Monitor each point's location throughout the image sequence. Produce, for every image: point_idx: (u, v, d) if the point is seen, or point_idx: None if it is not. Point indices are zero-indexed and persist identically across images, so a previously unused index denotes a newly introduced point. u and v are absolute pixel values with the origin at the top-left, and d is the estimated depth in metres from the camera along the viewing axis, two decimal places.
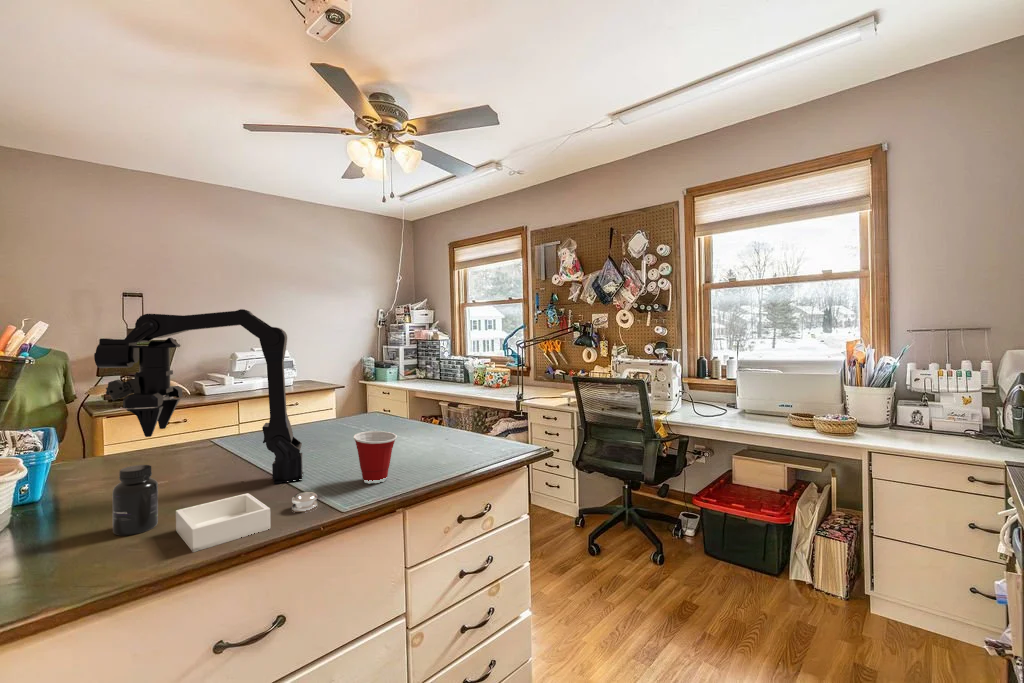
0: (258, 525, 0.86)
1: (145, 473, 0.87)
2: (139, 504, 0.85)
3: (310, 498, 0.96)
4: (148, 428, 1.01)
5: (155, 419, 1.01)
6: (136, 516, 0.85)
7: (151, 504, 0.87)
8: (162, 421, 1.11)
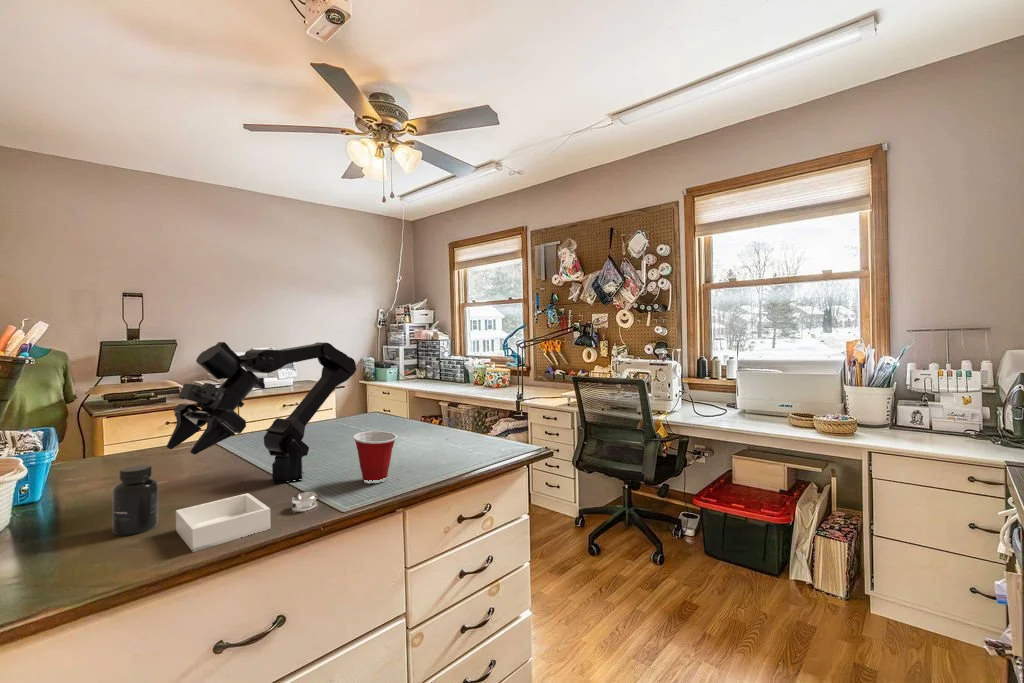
0: (258, 525, 0.86)
1: (145, 473, 0.87)
2: (139, 504, 0.85)
3: (310, 498, 0.96)
4: (202, 446, 0.93)
5: (217, 441, 0.95)
6: (136, 516, 0.85)
7: (151, 504, 0.87)
8: (175, 441, 0.98)
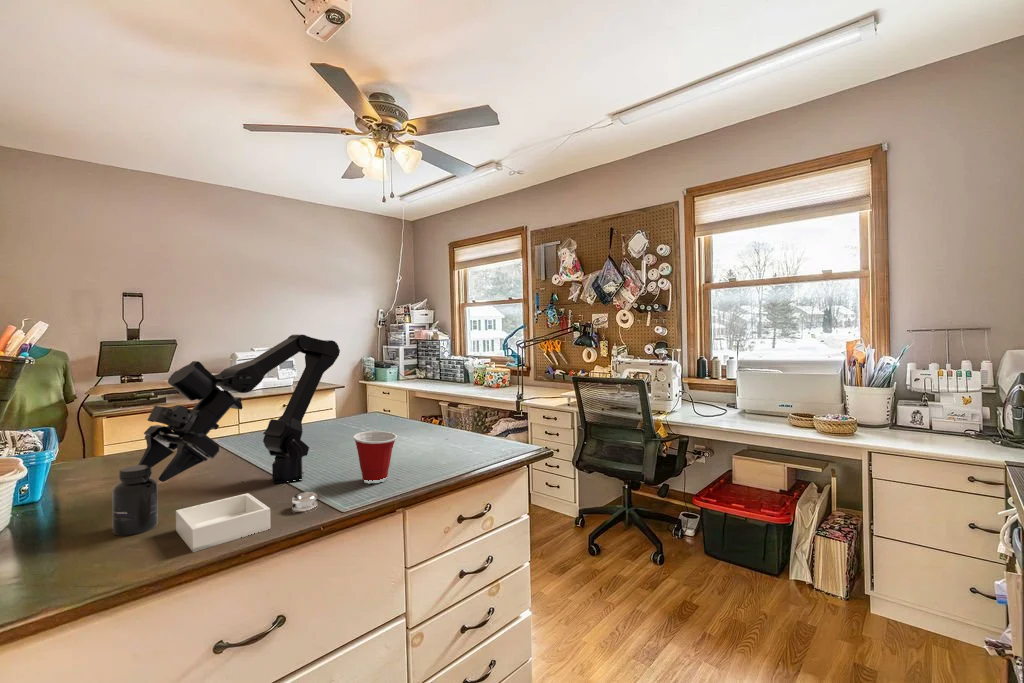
0: (258, 525, 0.86)
1: (145, 473, 0.87)
2: (139, 504, 0.85)
3: (310, 498, 0.96)
4: (172, 472, 0.88)
5: (188, 467, 0.90)
6: (136, 516, 0.85)
7: (151, 504, 0.87)
8: None
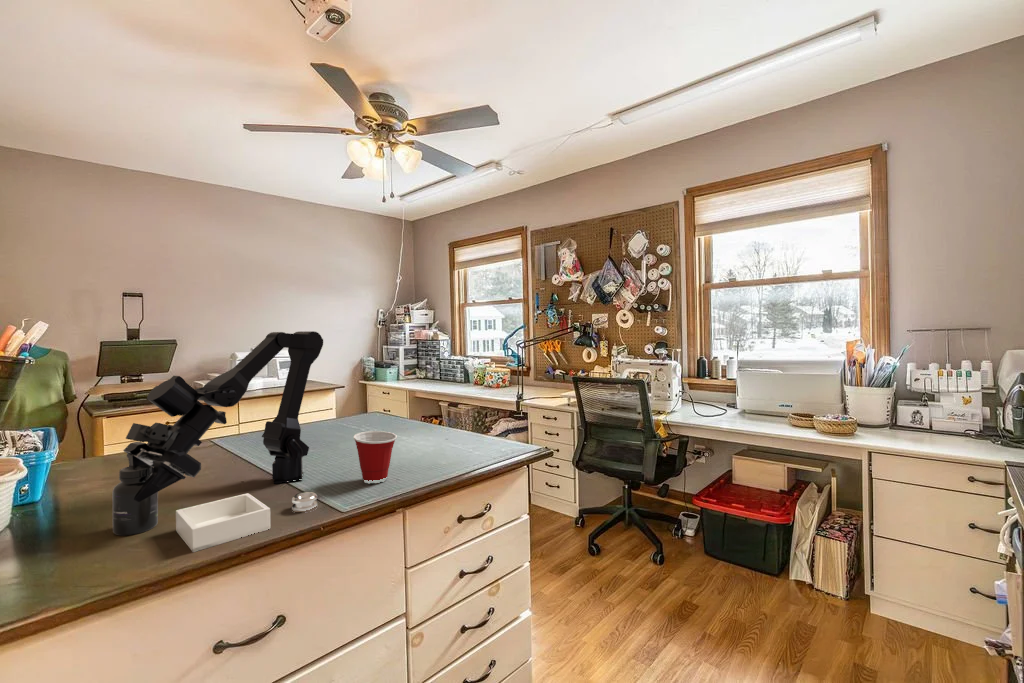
0: (258, 525, 0.86)
1: (145, 473, 0.87)
2: (139, 504, 0.85)
3: (310, 498, 0.96)
4: (148, 492, 0.86)
5: (165, 486, 0.88)
6: (136, 516, 0.85)
7: (151, 504, 0.87)
8: None
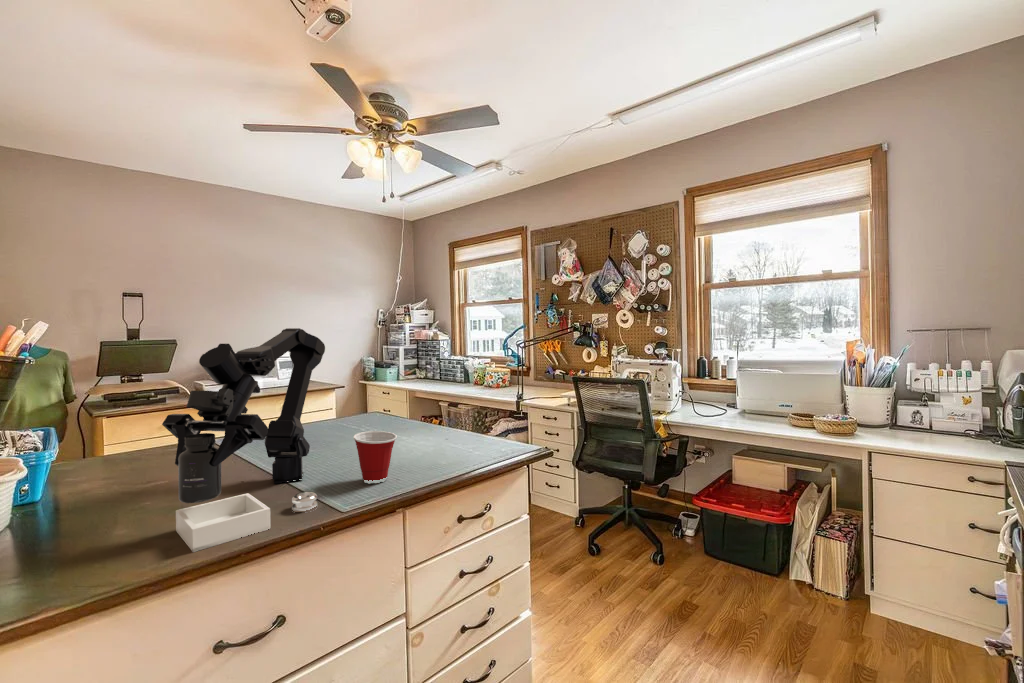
0: (258, 525, 0.86)
1: (213, 439, 0.87)
2: (214, 469, 0.85)
3: (310, 498, 0.96)
4: (223, 456, 0.86)
5: (235, 451, 0.89)
6: (211, 481, 0.85)
7: (220, 470, 0.87)
8: None
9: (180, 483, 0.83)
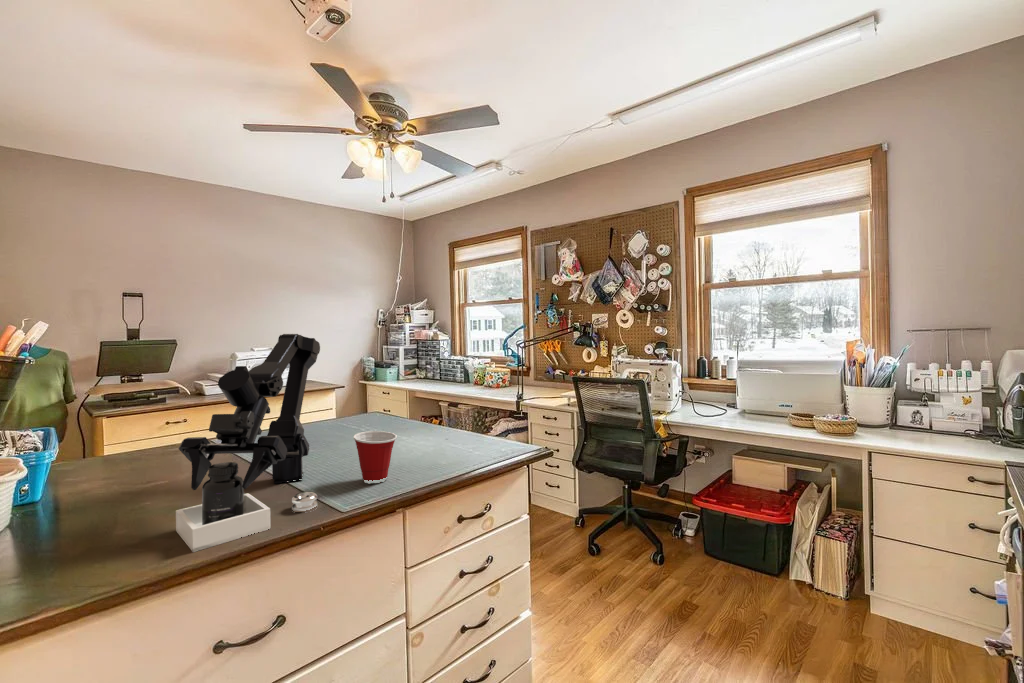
0: (258, 525, 0.86)
1: (237, 468, 0.88)
2: (239, 498, 0.87)
3: (310, 498, 0.96)
4: (252, 478, 0.87)
5: (261, 472, 0.90)
6: (236, 510, 0.86)
7: (243, 498, 0.88)
8: (198, 480, 0.86)
9: (205, 513, 0.84)
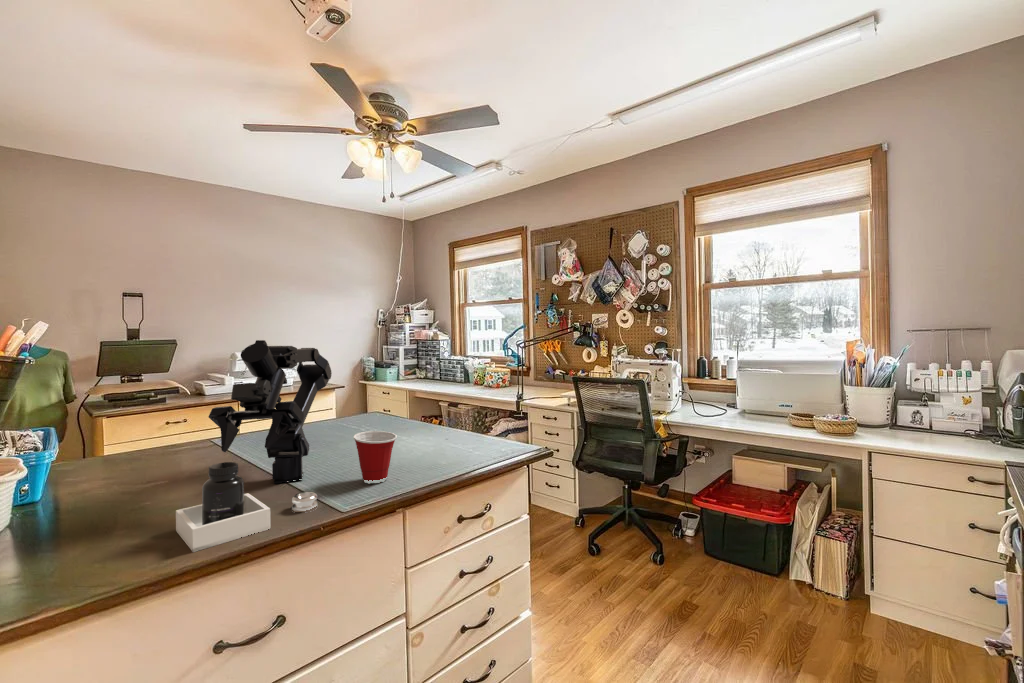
0: (258, 525, 0.86)
1: (237, 468, 0.88)
2: (239, 498, 0.87)
3: (310, 498, 0.96)
4: (273, 439, 0.97)
5: (282, 434, 0.99)
6: (237, 510, 0.86)
7: (243, 498, 0.88)
8: (227, 443, 0.96)
9: (205, 513, 0.84)
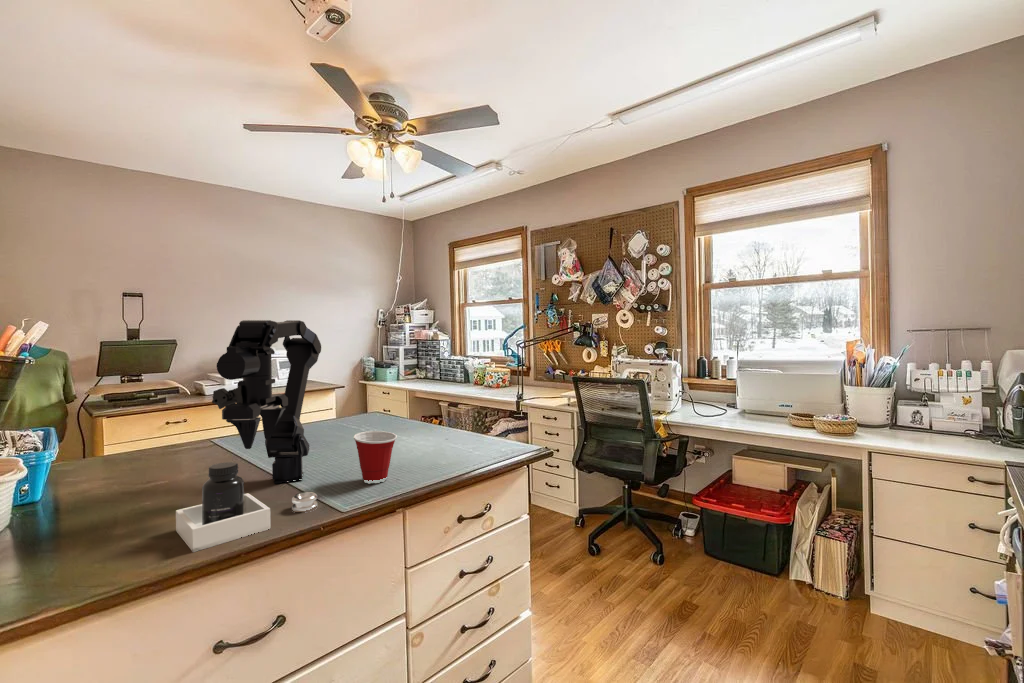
0: (258, 525, 0.86)
1: (237, 468, 0.88)
2: (239, 498, 0.87)
3: (310, 498, 0.96)
4: (247, 440, 0.97)
5: (253, 431, 0.96)
6: (236, 510, 0.86)
7: (243, 498, 0.88)
8: (267, 431, 1.07)
9: (205, 513, 0.84)
